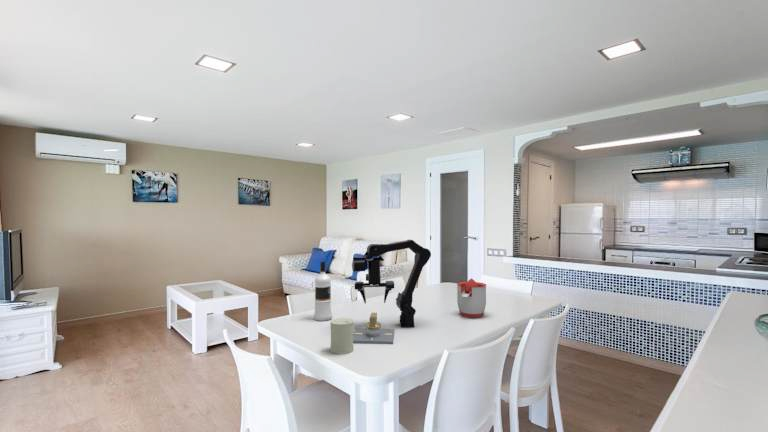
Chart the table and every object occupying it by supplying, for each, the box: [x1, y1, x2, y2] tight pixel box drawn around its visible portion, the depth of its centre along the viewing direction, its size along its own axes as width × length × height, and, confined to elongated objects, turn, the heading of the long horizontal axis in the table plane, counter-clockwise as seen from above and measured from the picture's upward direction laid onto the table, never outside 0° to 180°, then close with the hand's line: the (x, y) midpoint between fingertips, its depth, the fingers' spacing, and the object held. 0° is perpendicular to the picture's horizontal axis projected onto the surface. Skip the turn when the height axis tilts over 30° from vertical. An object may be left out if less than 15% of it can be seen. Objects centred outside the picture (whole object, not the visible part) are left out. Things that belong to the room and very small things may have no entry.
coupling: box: [365, 312, 382, 329], centre depth 163 cm, size 6×9×5 cm
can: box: [329, 317, 354, 355], centre depth 147 cm, size 9×9×12 cm
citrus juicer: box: [456, 277, 487, 319], centre depth 198 cm, size 16×17×20 cm
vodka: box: [313, 260, 333, 322], centre depth 192 cm, size 9×9×30 cm
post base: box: [353, 327, 396, 345], centre depth 163 cm, size 18×18×4 cm
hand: (375, 303), depth 176 cm, fingers open, 9 cm apart
